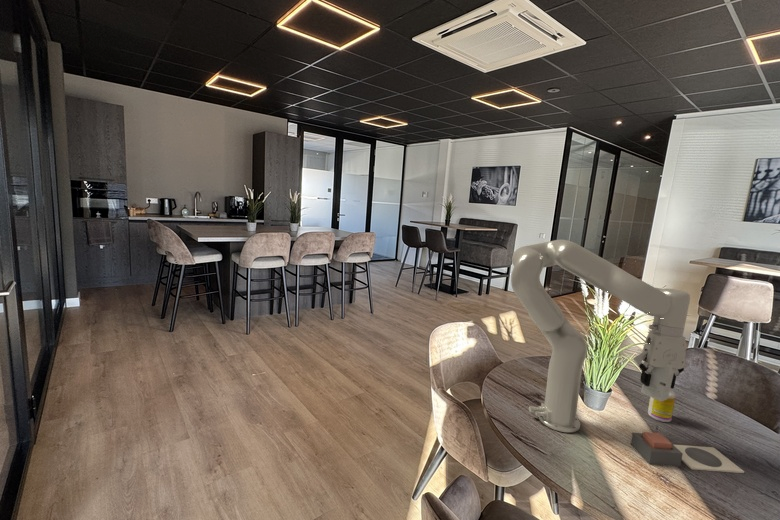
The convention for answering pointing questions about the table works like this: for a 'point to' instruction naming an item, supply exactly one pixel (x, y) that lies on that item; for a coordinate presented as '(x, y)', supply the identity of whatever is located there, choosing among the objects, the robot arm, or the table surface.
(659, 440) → the button
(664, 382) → the skincare box
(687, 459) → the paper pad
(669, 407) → the supplement bottle
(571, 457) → the table surface
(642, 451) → the button housing
